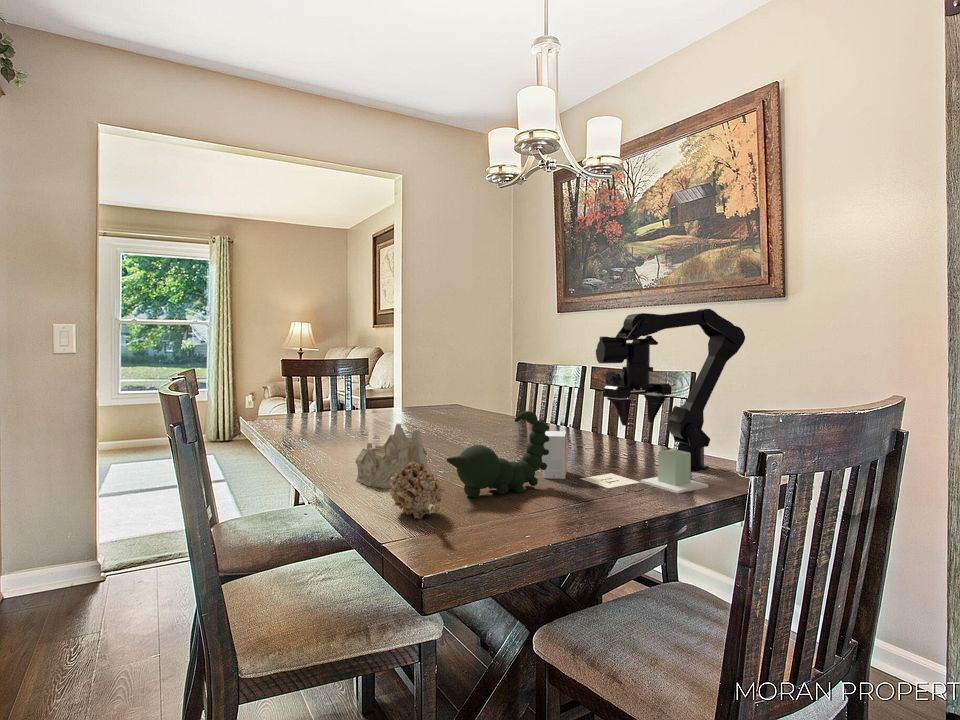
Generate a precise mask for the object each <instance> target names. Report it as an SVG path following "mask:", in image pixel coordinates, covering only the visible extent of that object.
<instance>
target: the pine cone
mask: <svg viewBox="0 0 960 720" xmlns="http://www.w3.org/2000/svg"><path fill="white" fill-rule="evenodd" d="M428 468H429V467H428ZM428 468H426V467H425V466H424V464H423V463H421V465H420V466H419V464H418V463H417V464H416V462H412V461H411V462H409V463H408V465H407V467H406V466H405V465H404V468H403V469H402V470H401V472H399V473H396V472H395V477H391V481H392V483H390V485H391V486H392V488H389V490H387V492H388V493H389V494H390V496H391V497H390V498H391V499H392V500H393V501H394V506H396V507H399V509H400V510H402V512H403V513H405V514H406V515H407V516H408V515H412V514H413V517H414V519H418V520H419V519H420V520H421V519H422V518H423V517H424V516H425V515H426V514H428V515H430V516H431V515H432V514H437V513H438V512H439V511H440V508H441V507H440V505H441V504H440V503H441V502H442V499H441V498H442V497H443V496H444V495H443V494H442V493H440V492H439V491H440V489H441V486H440V485H439V484H440V480H437V479H436V478H435V477H436V476H435V475H436V474H435V473H434V472H432V471H431V472H430V471H429V469H428Z"/></svg>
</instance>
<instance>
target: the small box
mask: <svg viewBox="0 0 960 720" xmlns="http://www.w3.org/2000/svg"><path fill="white" fill-rule="evenodd" d="M545 434H546V436H548V437H549V441H548V442H545V444H544V448H545V449H548V451H549V454H548V455H543V456H542V463H546V464H547V468H546V470H542V479H551V480H553V479H555V480H556V479H557V480H566V476H567V471H568V470H567V445H568V444H567V443H568V442H567V431H564V430H563V431H562V430H561V431H560V430H558V431H557V430H548V431H546V432H545Z"/></svg>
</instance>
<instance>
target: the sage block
mask: <svg viewBox="0 0 960 720" xmlns="http://www.w3.org/2000/svg"><path fill="white" fill-rule="evenodd" d="M657 455H658V458H657V460H658V461H657V464H658V465H657V471H658V472H657V473H658V474H657V477H658V481H659V482H662V483H666V484H669V485H673V486H679V485H684V484H688V483H690V480H691V470H690V468H691V453H689V452H684V451H679V450H678V449H673V448H672V449H667V450H660V451H658V454H657Z"/></svg>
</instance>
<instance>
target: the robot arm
mask: <svg viewBox="0 0 960 720" xmlns="http://www.w3.org/2000/svg"><path fill="white" fill-rule="evenodd" d="M691 326H699V327H700V328H701V330H702V332H703V333H704V334H705V336H706V337H708V338H709V340H708V343H707V349H708V351H707V352H708V354H707V357H706V359H705V361H704V363H703V365H702V367H701V369H700V371H699V373H698V376H697V377H696V379H695V381H694V383H693V386H692V388H691V390H690V392H689V394H688V396H687V398H686V400H685V402H684V403H683V404H682V405H681V406H678V405H674V406H673V408H672V410H671V413H670V415H669V416H668V417H667V420H668V423H667V428H668V431H669V433H670V435H672V437H673V440H674V442H677V450H679V451H684V452H689V453H691V468H690V472H693V471H700V470H706V469H709V468H710V466H709V465H706V464H705V448H707V447H709V445H710V442H711V438H710V437H709V436H708V435H707V434H706V433H705V432H704V431H703V430H702V429H703V425H704V423H705V419H704V418H705V417H704V411H705V408H706V406H707V404H708V401H709V400H710V398H711V397H712V393H713V391H714V390H715V387H716V385H717V383H718V380H719V378H720V377H721V374H722V373H723V370H724V368H725V366H726V364H727V362H728V361H729V360H731V358H732V357H733V356H735V355H736V354H737V353H738V352H739V350H740V349H741V347H742V346H743V345H744V343H745V340H746V335H745V332H744V330H743V329H742V328H741V327H740V326H738V325H735V324H733V323H732V322H731V321H730V320H728V319H726V318H725V317H723V316H720V314H719V313H717V312H716V311H715V310H713V309H711V308H701V309H697V310H690V311H683V312H676V313H675V312H674V313H669V314H668V313H666V314H659V313H646V312H642V313H641V312H640V313H631V314H629V315H627V316H626V317H625V319H624V320H623V324H622V327H621V329H620V330H619V331H618V332H617V334H616V336H614V337H612V336H611V337H609V336H599V341H598V343H597V346H596V349H595V358H596V361H597V362H598V364H622V363H624V361H626V365H625V366H622V369H621V372H620V373H616V372H614V371H610V372H609V371H608V372H607V373H605V384H606V385H605V386H603V387H604V388H603V389H602V397H604V398H606V399H607V401H611V403H613V405H614V406H615V409H616V411H617V414H618V416H619V420H620V422H621V423H620V424H621V425H622V426H627V424H628V420H629V415H630V409H631V403H632V398H630V396H631V395H641V394H643V396H644V398H645V400H646V401H647V402H646V403H647V420H648V423H651V424H652V423H653V422H654V421H655V419H656V417H657V415H658V413H659V411H660V409H661V408H662V406H663V404H664V403H665V401H666V400H667V399H668V397H669V396H670V395H672V389H673V388H672V386H671V385H670V383H665V382H658V381H657V382H656V381H655V382H650V377H651V376H650V373H651V372H654V367H653V366H651V365H650V362H651V361H650V360H651V359H650V358H651V357H650V356H651V355H650V354H651V353H650V351H651V350H650V348H651V346H657V345H659V342H658V341H657V340H656V339H655V338H654V337H653V336H652V334H656V333H658V332H661V331H663V330H665V329H675V328H680V327H691ZM640 337H645V338H640ZM627 341H632V342H627ZM668 395H669V396H668Z"/></svg>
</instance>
